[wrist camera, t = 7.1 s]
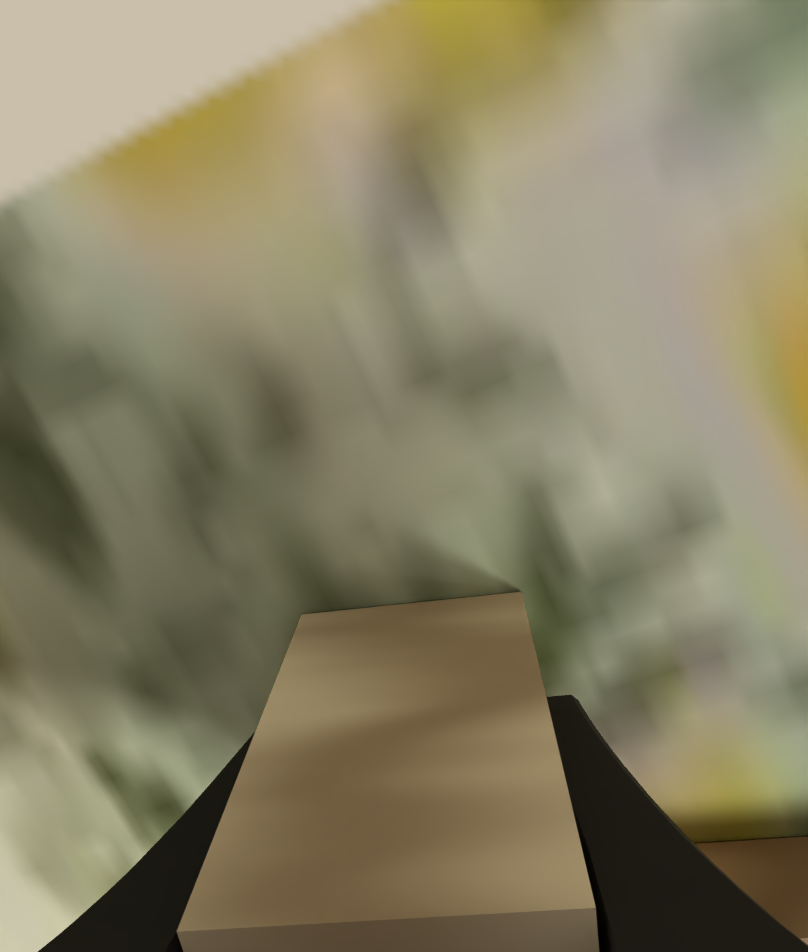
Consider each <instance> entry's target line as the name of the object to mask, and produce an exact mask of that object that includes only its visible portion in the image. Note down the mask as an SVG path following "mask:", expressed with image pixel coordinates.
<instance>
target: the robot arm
mask: <svg viewBox="0 0 808 952" xmlns="http://www.w3.org/2000/svg"><path fill="white" fill-rule="evenodd" d="M546 698H547V702H548V706H549V711H550V715H551V719H552V723H553V728H554V732H555V736H556V740H557V745H558V749H559V753H560V757H561V762H562V766H563V770H564V774H565V779H566V783H567V787H568V792H569V796H570V800H571V804H572V809H573V813H574V817H575V821H576V826H577V830H578V834H579V838H580V843H581V847H582V851H583V855H584V860H585V864H586V868H587V872H588V877H589V881H590V885H591V889H592V894H593V898H594V902H595V907H596V917H597V929H598V942H599V952H808V945H807V944H806V943H805V942H803V941H802V940H801V939H800V938H798V937H797V936H796V935H795V934H793V933H792V932H791V931H789V930H788V929H787V928H786V927H784V926H783V925H782V924H781V923H780V922H778V921H777V920H776V919H775V918H774V917H773V916H772V915H770V914H769V913H768V912H767V911H766V910H765V909H763V908H762V907H761V906H760V905H759V904H758V903H757V902H755V901H754V900H753V899H752V898H751V897H750V896H749V895H747V894H746V893H745V892H744V891H743V890H742V889H741V888H740V887H739V886H738V885H736V884H735V883H734V882H733V881H732V880H731V879H730V878H729V877H728V876H727V875H726V874H725V873H724V872H722V871H721V870H720V869H719V868H718V867H717V866H716V865H715V864H714V863H713V862H712V861H711V860H710V859H709V858H708V857H707V856H706V855H705V854H704V853H703V852H702V851H701V850H700V849H699V848H698V847H697V846H696V845H695V844H694V843H693V842H692V841H691V840H690V839H689V838H688V837H687V836H686V835H685V834H684V833H683V832H682V831H681V830H680V829H679V828H678V827H677V825H676V824H675V823H674V822H673V821H672V820H671V819H670V818H669V817H668V816H667V815H666V814H665V813H664V812H663V811H662V809H661V808H660V807H659V806H658V805H657V804H656V803H655V801H654V800H653V799H652V798H651V797H650V796H649V795H648V794H647V792H646V791H645V790H644V789H643V788H642V786H641V785H640V784H639V783H638V782H637V780H636V779H635V778H634V777H633V776H632V774H631V773H630V772H629V771H628V770H627V768H626V767H625V766H624V765H623V764H622V762H621V761H620V760H619V758H618V757H617V756H616V755H615V753H614V752H613V751H612V749H611V748H610V747H609V745H608V744H607V743H606V741H605V740H604V739H603V737H602V736H601V735H600V733H599V732H598V730H597V729H596V727H595V726H594V725H593V723H592V722H591V720H590V719H589V717H588V715H587V714H586V712H585V711H584V709H583V708H582V706H581V704H580V702H579V701H578V700H577V699H576V698H575V697H573V696H572V695H564V696H553V697H546ZM254 734H255V732H254ZM254 734H253V735H252V736H251V737H250V738H249V739H248V741H247V742H246V743H245V744H244V745H243V746H242V748H241V749H240V750H239V751H238V752H237V753H236V755H235V756H234V757H233V758H232V759H231V760H230V762H229V763H228V764H227V765H226V766H225V768H224V769H223V770H222V771H221V772H220V773H219V775H218V776H217V777H216V778H215V779H214V780H213V782H212V783H211V784H210V785H209V786H208V787H207V788H206V790H205V791H204V792H203V793H202V794H201V795H200V796H199V798H198V799H197V800H196V801H195V802H194V803H193V804H192V805H191V807H190V808H189V809H188V810H187V811H186V812H185V813H184V815H183V816H182V817H181V818H180V819H179V820H178V821H177V822H176V823H175V824H174V825H173V826H172V827H171V828H170V829H169V830H168V831H167V832H166V833H165V835H164V836H163V837H162V838H161V839H160V840H159V841H158V842H157V843H156V844H155V845H154V846H153V847H152V848H151V849H150V850H149V851H148V852H147V853H146V854H145V855H144V856H143V857H142V859H141V860H140V861H139V862H138V863H137V864H136V865H135V866H134V867H133V868H132V869H131V870H130V871H129V872H128V873H127V874H126V875H125V876H124V877H123V878H121V879H120V880H119V881H118V882H117V883H116V884H115V885H114V886H113V887H112V888H111V889H110V890H109V891H108V892H107V893H106V894H104V895H103V896H102V897H101V898H100V899H99V900H98V901H97V902H96V903H94V904H93V905H92V906H91V907H90V908H89V909H88V910H87V911H86V912H84V913H83V914H82V915H81V916H80V917H79V918H78V919H77V920H76V921H74V922H73V923H72V924H71V925H70V926H69V927H67V928H66V929H65V930H64V931H63V932H62V933H60V934H59V935H58V936H57V937H56V938H54V939H53V940H52V941H51V942H49V943H48V944H47V945H46V946H44V947H43V948H42V949H41V950H39V951H38V952H183V949H182V946H181V943H180V940H179V937H178V934H177V929H178V927H179V924H180V922H181V919H182V917H183V914H184V911H185V909H186V906H187V904H188V901H189V899H190V896H191V894H192V891H193V889H194V886H195V884H196V881H197V878H198V876H199V873H200V871H201V868H202V866H203V863H204V861H205V858H206V856H207V853H208V851H209V848H210V845H211V843H212V840H213V838H214V835H215V833H216V830H217V828H218V825H219V823H220V820H221V818H222V815H223V812H224V810H225V807H226V805H227V802H228V800H229V797H230V795H231V792H232V790H233V787H234V785H235V782H236V780H237V777H238V774H239V772H240V769H241V767H242V764H243V762H244V759H245V757H246V754H247V752H248V749H249V747H250V744H251V741H252V739H253V736H254Z"/></svg>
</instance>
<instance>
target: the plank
mask: <svg viewBox="0 0 808 952" xmlns="http://www.w3.org/2000/svg"><path fill="white" fill-rule="evenodd" d="M695 845H696V846H697V847H698V848H699V849H700V850H701V851H702V852H703V853H704V854H705V855H706V856H707V857H708V858H709V859H710V860H711V861H712V862H713V863H714V864H715V865H716V866H717V867H718V868H719V869H720V870H721V871H722V872H724V873H725V874H726V875H727V876H728V877H729V878H730V879H731V880H732V881H733V882H734V883H735V884H736V885H738V886H739V887H740V888H741V889H742V890H743V891H744V892H745V893H746V894H747V895H749V896H750V897H751V898H752V899H753V900H754V901H755V902H757V903H758V904H759V905H760V906H761V907H762V908H763V909H765V910H766V911H767V912H768V913H769V914H770V915H772V916H773V917H774V918H775V919H776V920H777V921H778V922H780V923H781V924H782V925H783V926H784V927H786V928H787V929H788V930H789V931H791V932H792V933H793V934H795V935H796V936H797V937H798V938H800V939H801V940H802V941H803V942H805V943H806V944H807V945H808V836H807V837H791V838H776V839H760V840H745V841H730V842H714V843H699V844H695Z"/></svg>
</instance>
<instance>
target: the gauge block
mask: <svg viewBox="0 0 808 952" xmlns="http://www.w3.org/2000/svg"><path fill="white" fill-rule="evenodd" d="M177 934H178V937H179V940H180V943H181V946H182V949H183V952H599V942H598V929H597V917H596V907H595V902H594V898H593V894H592V889H591V885H590V881H589V877H588V872H587V868H586V864H585V860H584V855H583V851H582V847H581V843H580V838H579V834H578V830H577V826H576V821H575V817H574V813H573V809H572V804H571V800H570V796H569V792H568V787H567V783H566V779H565V774H564V770H563V766H562V762H561V757H560V753H559V749H558V745H557V740H556V736H555V732H554V728H553V723H552V719H551V715H550V711H549V706H548V702H547V698H546V694H545V689H544V685H543V681H542V676H541V672H540V668H539V664H538V659H537V655H536V651H535V647H534V642H533V638H532V634H531V630H530V625H529V621H528V617H527V613H526V608H525V604H524V600H523V596H522V592H514V593H504V594H495V595H485V596H475V597H466V598H456V599H446V600H437V601H427V602H418V603H408V604H398V605H389V606H379V607H369V608H360V609H350V610H340V611H331V612H321V613H311V614H302V615H301V617H300V620H299V622H298V625H297V627H296V630H295V632H294V635H293V637H292V640H291V642H290V645H289V648H288V650H287V653H286V655H285V658H284V660H283V663H282V665H281V668H280V670H279V673H278V675H277V678H276V681H275V683H274V686H273V688H272V691H271V693H270V696H269V698H268V701H267V703H266V706H265V708H264V711H263V714H262V716H261V719H260V721H259V724H258V726H257V729H256V731H255V734H254V736H253V739H252V741H251V744H250V747H249V749H248V752H247V754H246V757H245V759H244V762H243V764H242V767H241V769H240V772H239V774H238V777H237V780H236V782H235V785H234V787H233V790H232V792H231V795H230V797H229V800H228V802H227V805H226V807H225V810H224V812H223V815H222V818H221V820H220V823H219V825H218V828H217V830H216V833H215V835H214V838H213V840H212V843H211V845H210V848H209V851H208V853H207V856H206V858H205V861H204V863H203V866H202V868H201V871H200V873H199V876H198V878H197V881H196V884H195V886H194V889H193V891H192V894H191V896H190V899H189V901H188V904H187V906H186V909H185V911H184V914H183V917H182V919H181V922H180V924H179V927H178V929H177Z"/></svg>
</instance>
